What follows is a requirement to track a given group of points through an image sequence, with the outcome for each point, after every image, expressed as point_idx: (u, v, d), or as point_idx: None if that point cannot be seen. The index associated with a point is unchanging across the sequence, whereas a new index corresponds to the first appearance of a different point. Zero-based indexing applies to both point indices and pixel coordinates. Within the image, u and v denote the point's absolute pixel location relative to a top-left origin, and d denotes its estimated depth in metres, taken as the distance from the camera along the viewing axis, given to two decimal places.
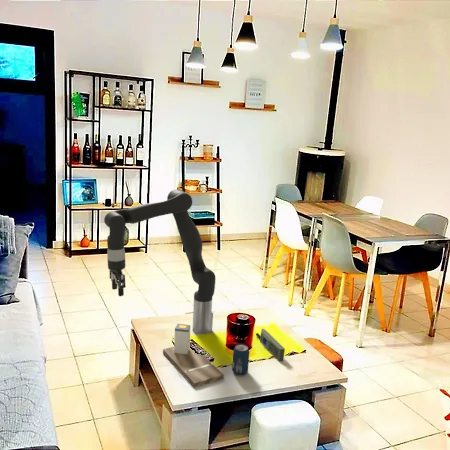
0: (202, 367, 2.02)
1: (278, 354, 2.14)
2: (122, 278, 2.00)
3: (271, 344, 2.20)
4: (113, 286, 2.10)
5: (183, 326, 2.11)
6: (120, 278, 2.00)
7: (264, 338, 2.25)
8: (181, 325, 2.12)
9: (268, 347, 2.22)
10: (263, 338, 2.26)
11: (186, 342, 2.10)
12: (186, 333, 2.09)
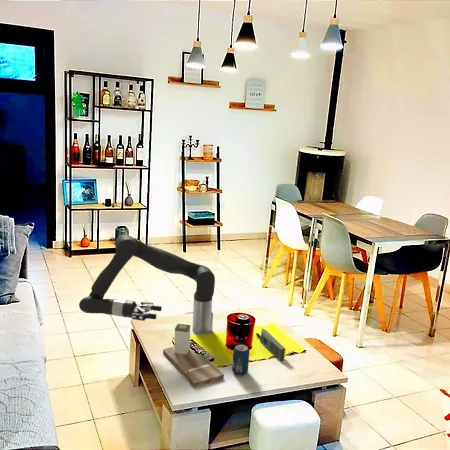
0: (202, 367, 2.02)
1: (279, 354, 2.14)
2: (134, 316, 2.05)
3: (271, 344, 2.20)
4: (157, 310, 2.15)
5: (183, 326, 2.11)
6: (134, 318, 2.06)
7: (264, 338, 2.25)
8: (181, 325, 2.12)
9: (268, 347, 2.22)
10: (263, 338, 2.26)
11: (186, 342, 2.10)
12: (186, 333, 2.09)
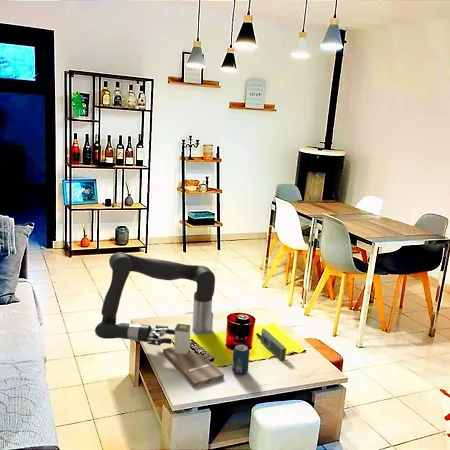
0: (202, 367, 2.02)
1: (280, 354, 2.14)
2: (150, 341, 2.07)
3: (272, 344, 2.20)
4: (172, 333, 2.17)
5: (183, 326, 2.11)
6: (150, 343, 2.08)
7: (265, 338, 2.26)
8: (181, 325, 2.12)
9: (269, 347, 2.22)
10: (264, 338, 2.27)
11: (186, 342, 2.10)
12: (186, 333, 2.09)
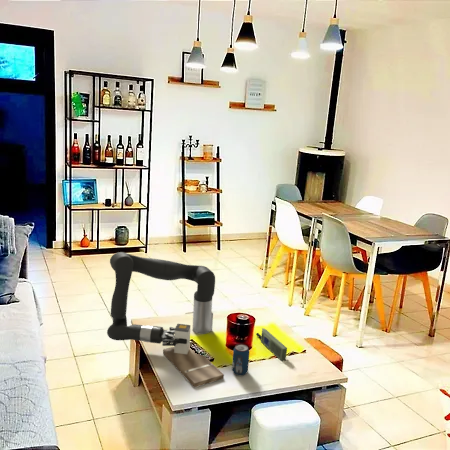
0: (202, 367, 2.02)
1: (280, 354, 2.14)
2: (165, 343, 2.07)
3: (273, 344, 2.20)
4: None
5: (183, 326, 2.11)
6: (165, 344, 2.07)
7: (265, 338, 2.26)
8: (181, 325, 2.12)
9: (270, 347, 2.22)
10: (264, 338, 2.27)
11: None
12: (186, 333, 2.09)
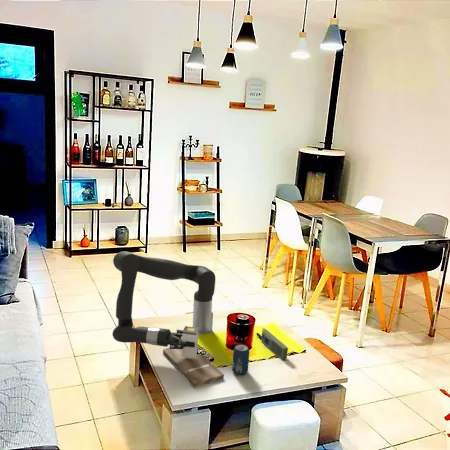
0: (202, 367, 2.02)
1: (281, 353, 2.15)
2: (173, 346, 2.00)
3: (273, 343, 2.20)
4: None
5: (191, 329, 2.04)
6: (172, 348, 2.00)
7: (266, 338, 2.26)
8: (189, 328, 2.05)
9: (270, 347, 2.23)
10: (265, 338, 2.27)
11: None
12: (194, 336, 2.02)
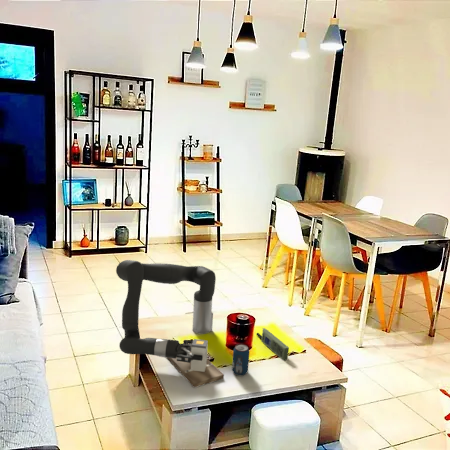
0: None
1: (282, 353, 2.15)
2: (180, 358, 1.93)
3: (274, 343, 2.21)
4: None
5: (200, 342, 1.98)
6: (179, 360, 1.94)
7: (266, 338, 2.26)
8: (198, 341, 1.99)
9: (271, 346, 2.23)
10: (265, 338, 2.27)
11: (204, 359, 1.97)
12: (204, 349, 1.96)
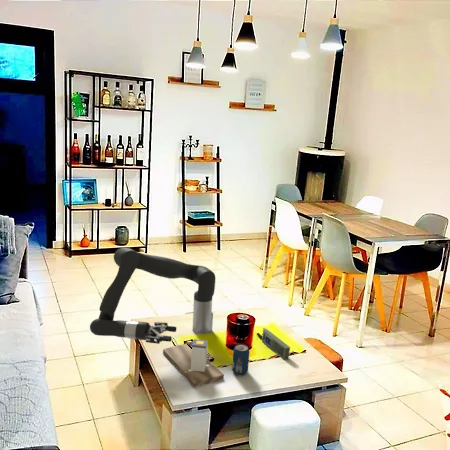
0: None
1: (283, 353, 2.15)
2: (148, 339, 1.95)
3: (275, 343, 2.21)
4: (172, 330, 2.04)
5: (200, 342, 1.98)
6: (148, 341, 1.95)
7: (267, 337, 2.26)
8: (198, 341, 1.99)
9: (272, 346, 2.23)
10: (266, 338, 2.27)
11: (204, 359, 1.97)
12: (204, 349, 1.96)
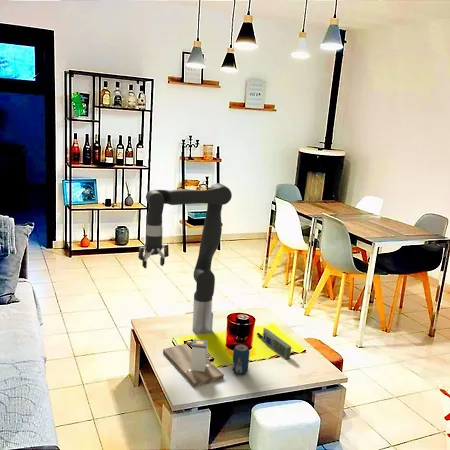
0: None
1: (285, 352, 2.16)
2: (140, 250, 2.15)
3: (276, 343, 2.21)
4: (160, 262, 2.23)
5: (200, 342, 1.98)
6: (139, 249, 2.15)
7: (267, 337, 2.26)
8: (198, 341, 1.99)
9: (273, 346, 2.23)
10: (266, 337, 2.27)
11: (204, 359, 1.97)
12: (204, 349, 1.96)
